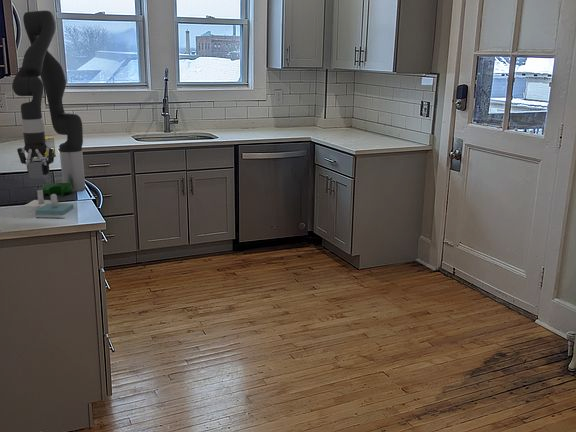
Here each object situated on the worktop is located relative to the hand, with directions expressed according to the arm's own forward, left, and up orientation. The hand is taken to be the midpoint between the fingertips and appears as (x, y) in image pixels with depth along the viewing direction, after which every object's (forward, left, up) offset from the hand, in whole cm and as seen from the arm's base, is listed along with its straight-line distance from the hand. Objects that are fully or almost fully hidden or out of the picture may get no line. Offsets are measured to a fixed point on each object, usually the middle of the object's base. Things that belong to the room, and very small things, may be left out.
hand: (38, 174), depth 231 cm
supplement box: (-113, -48, -13) cm, 123 cm away
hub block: (+12, +10, -13) cm, 20 cm away
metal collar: (0, 0, -1) cm, 1 cm away
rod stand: (0, 0, -13) cm, 13 cm away
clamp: (-15, 0, -13) cm, 20 cm away
